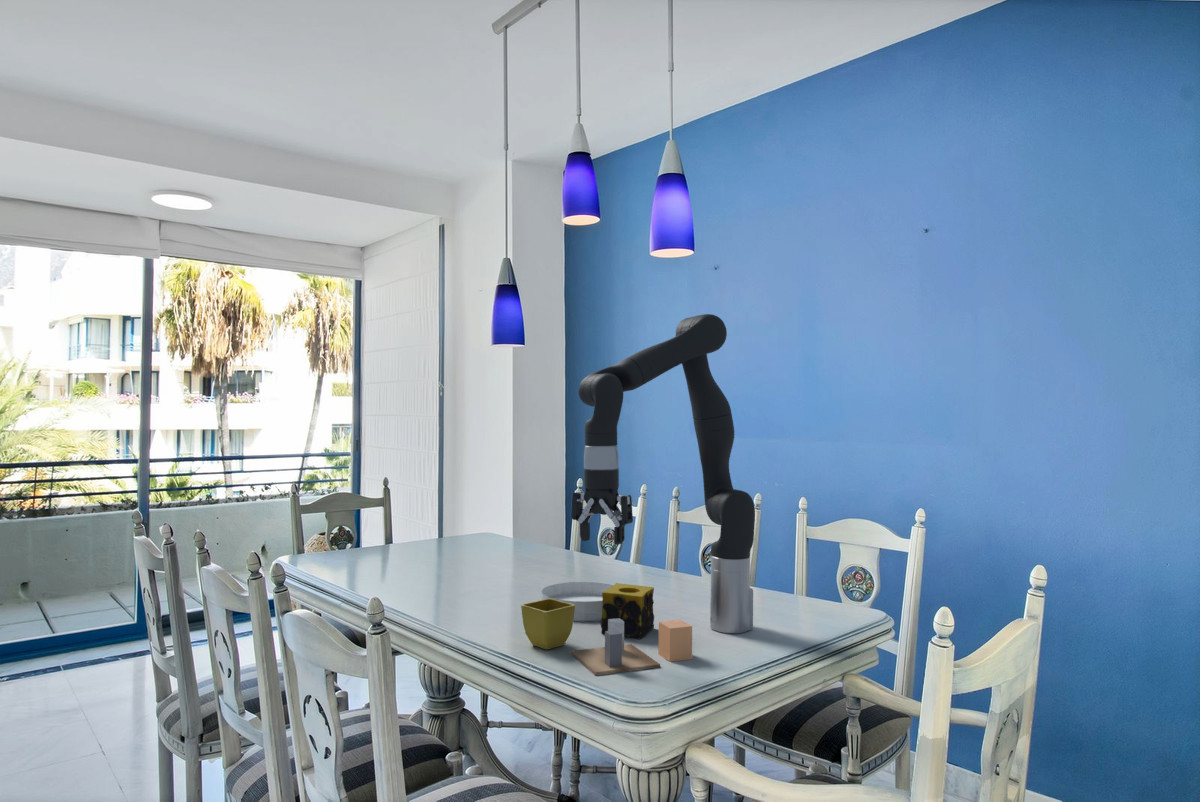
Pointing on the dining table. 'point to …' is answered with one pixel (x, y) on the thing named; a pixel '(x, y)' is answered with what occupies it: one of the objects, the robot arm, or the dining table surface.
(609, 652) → the graphite post
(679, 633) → the salmon pink brick
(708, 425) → the robot arm
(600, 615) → the dish
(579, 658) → the board
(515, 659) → the dining table surface
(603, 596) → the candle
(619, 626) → the metal post
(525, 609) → the flower pot
